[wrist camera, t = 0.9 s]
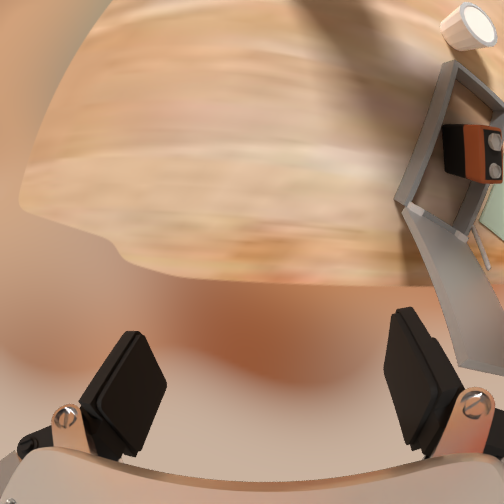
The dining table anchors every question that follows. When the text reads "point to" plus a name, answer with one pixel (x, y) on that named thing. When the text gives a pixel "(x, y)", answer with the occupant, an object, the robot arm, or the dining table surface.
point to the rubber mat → (495, 209)
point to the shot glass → (468, 28)
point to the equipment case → (426, 142)
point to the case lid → (462, 296)
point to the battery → (473, 152)
